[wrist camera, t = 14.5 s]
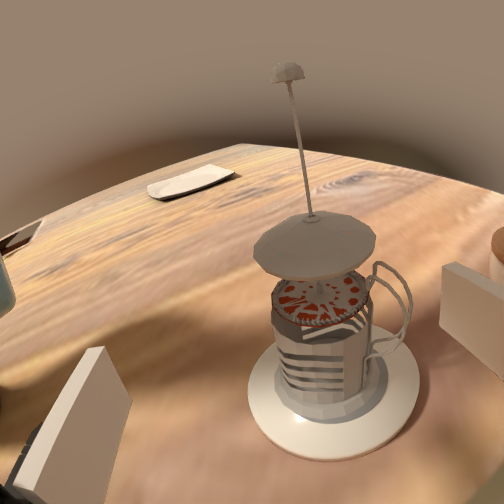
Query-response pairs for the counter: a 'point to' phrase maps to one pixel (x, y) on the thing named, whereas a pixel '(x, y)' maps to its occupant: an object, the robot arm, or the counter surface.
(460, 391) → the counter surface
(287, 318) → the french press
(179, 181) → the plate
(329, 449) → the disc
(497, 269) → the lidded jar
